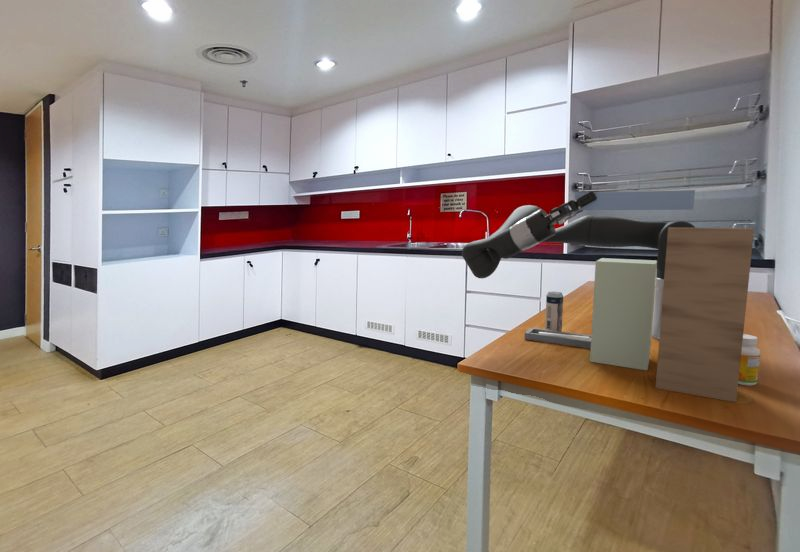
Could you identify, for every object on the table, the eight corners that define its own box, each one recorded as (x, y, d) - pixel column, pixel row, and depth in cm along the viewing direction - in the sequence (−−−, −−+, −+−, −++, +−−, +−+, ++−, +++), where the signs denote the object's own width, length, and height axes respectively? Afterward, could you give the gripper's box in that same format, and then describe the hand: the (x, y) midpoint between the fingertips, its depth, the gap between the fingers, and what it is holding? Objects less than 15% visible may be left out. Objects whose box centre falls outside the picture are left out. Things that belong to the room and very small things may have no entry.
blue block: (577, 210, 110) (578, 193, 109) (692, 209, 97) (694, 191, 97) (574, 209, 106) (574, 193, 106) (693, 209, 94) (695, 190, 93)
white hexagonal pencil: (599, 348, 119) (538, 341, 126) (600, 343, 121) (539, 336, 127) (600, 341, 118) (538, 334, 124) (600, 336, 119) (539, 329, 126)
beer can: (562, 334, 130) (564, 294, 129) (545, 333, 131) (547, 293, 130) (560, 330, 135) (562, 291, 133) (543, 329, 136) (545, 291, 134)
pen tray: (531, 333, 131) (531, 327, 131) (613, 344, 119) (613, 338, 119) (524, 339, 125) (524, 332, 125) (609, 351, 114) (610, 344, 113)
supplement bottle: (718, 377, 95) (722, 333, 94) (741, 376, 96) (746, 332, 94) (739, 386, 90) (744, 339, 89) (763, 385, 90) (769, 339, 89)
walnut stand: (657, 376, 96) (668, 227, 91) (731, 388, 89) (748, 228, 85) (655, 388, 89) (668, 228, 85) (736, 402, 82) (754, 228, 78)
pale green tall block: (596, 350, 114) (601, 258, 111) (649, 358, 108) (657, 260, 104) (589, 361, 105) (595, 261, 102) (647, 370, 99) (655, 264, 96)
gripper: (545, 242, 120) (608, 209, 111) (531, 244, 108) (599, 208, 99) (532, 217, 121) (593, 183, 112) (517, 217, 109) (583, 179, 100)
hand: (596, 195), depth 105 cm, fingers closed on blue block, 4 cm apart
